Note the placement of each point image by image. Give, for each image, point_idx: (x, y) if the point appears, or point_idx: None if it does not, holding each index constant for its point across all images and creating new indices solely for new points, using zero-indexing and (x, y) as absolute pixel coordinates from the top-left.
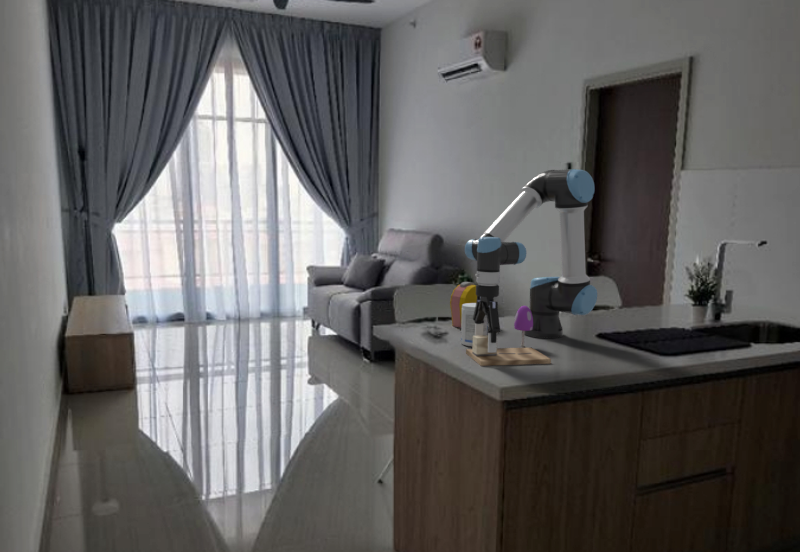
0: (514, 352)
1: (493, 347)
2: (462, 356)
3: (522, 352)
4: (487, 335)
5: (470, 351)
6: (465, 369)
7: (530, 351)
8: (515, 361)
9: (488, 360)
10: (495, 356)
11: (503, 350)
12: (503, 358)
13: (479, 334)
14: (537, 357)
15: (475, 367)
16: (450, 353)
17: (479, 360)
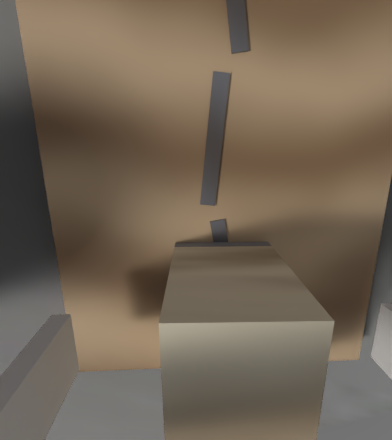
0: (182, 62)
1: None
2: (148, 379)
3: None
4: (174, 383)
5: (133, 361)
6: (378, 413)
7: None
8: (389, 148)
9: (354, 318)
10: (276, 251)
11: (111, 134)
12: (333, 216)
13: (34, 408)
14: None
15: (360, 369)
16: (83, 418)
17: (330, 358)
